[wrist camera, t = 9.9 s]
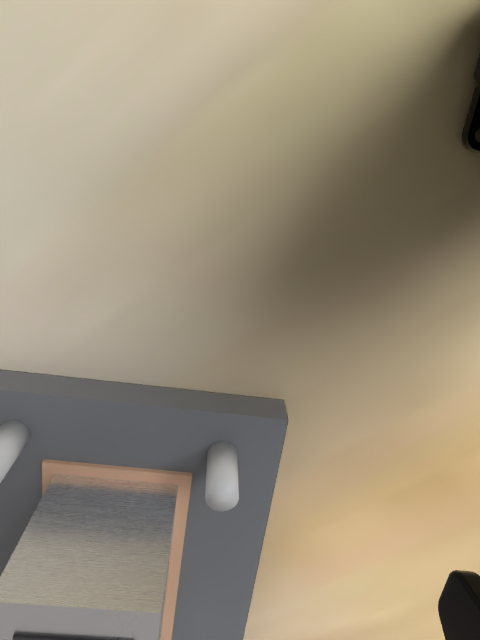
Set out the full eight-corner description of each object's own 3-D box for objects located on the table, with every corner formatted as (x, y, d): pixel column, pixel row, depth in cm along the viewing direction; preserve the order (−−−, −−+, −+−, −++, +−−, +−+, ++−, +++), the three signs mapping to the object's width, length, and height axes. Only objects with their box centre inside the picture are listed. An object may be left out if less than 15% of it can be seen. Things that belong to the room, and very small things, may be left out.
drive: (178, 484, 19) (160, 616, 13) (161, 634, 22) (141, 788, 16) (54, 473, 18) (-15, 604, 13) (55, 627, 21) (0, 783, 16)
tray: (283, 400, 19) (298, 460, 16) (233, 652, 25) (235, 741, 21) (-32, 366, 18) (-98, 422, 15) (-11, 636, 24) (-55, 727, 20)
